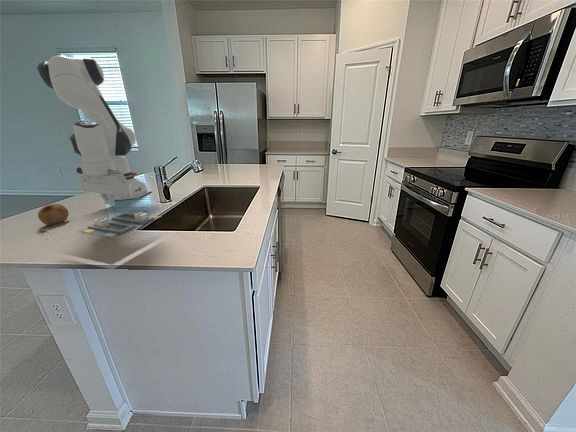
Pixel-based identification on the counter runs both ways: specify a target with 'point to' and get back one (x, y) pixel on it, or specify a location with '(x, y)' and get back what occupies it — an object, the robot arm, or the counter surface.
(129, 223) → the switch bank
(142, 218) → the tab
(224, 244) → the counter surface
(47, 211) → the onion
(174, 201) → the counter surface
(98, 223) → the tab
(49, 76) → the robot arm
